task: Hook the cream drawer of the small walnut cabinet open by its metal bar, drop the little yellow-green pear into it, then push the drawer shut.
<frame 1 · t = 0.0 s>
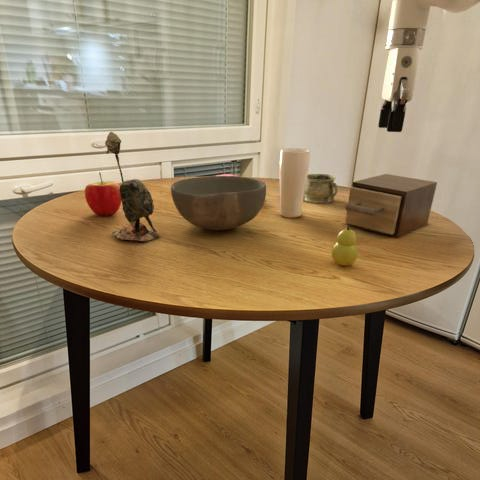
hand: (389, 129, 98), 19 cm above the table, tool pointing down, fingers open, 9 cm apart
drinking glass: (290, 216, 104), on the table
apple: (106, 215, 102), on the table
vessel: (317, 200, 118), on the table
cabinet: (387, 224, 98), on the table
stone bird figurine: (138, 238, 87), on the table
pear: (343, 264, 76), on the table
bowl: (219, 228, 94), on the table
book: (226, 200, 117), on the table
drawer: (380, 207, 93), point 5 cm above the table, slide at 0.5 cm
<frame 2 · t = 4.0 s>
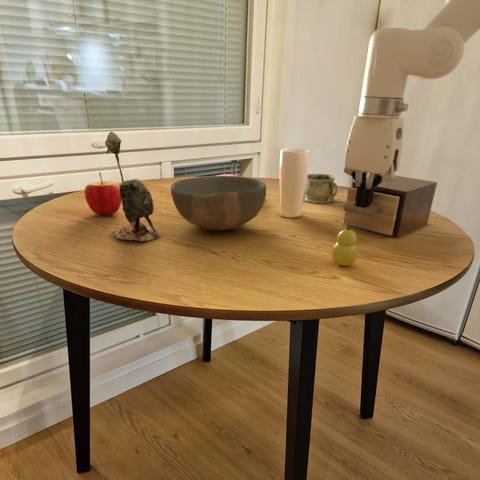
hand: (362, 206, 88), 6 cm above the table, tool pointing down, fingers closed
drawer: (378, 207, 93), point 5 cm above the table, slide at 1.3 cm, touching gripper
everything else where it was.
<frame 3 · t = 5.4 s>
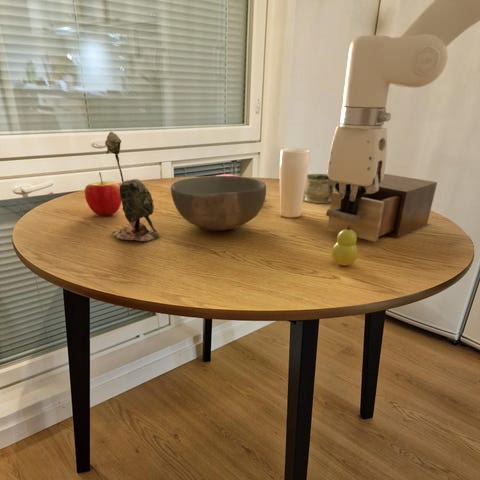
hand: (347, 218, 85), 5 cm above the table, tool pointing down, fingers closed
drawer: (364, 213, 89), point 5 cm above the table, slide at 7.4 cm, touching gripper
everything else where it was.
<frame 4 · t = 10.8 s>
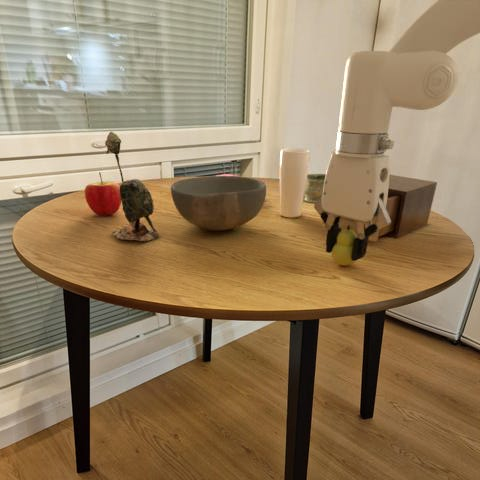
hand: (344, 253, 75), 2 cm above the table, tool pointing down, fingers closed on pear, 4 cm apart
pear: (343, 264, 76), on the table, touching gripper
drawer: (363, 213, 89), point 5 cm above the table, slide at 7.5 cm
everything else where it was.
when the fingers open (8 cm above the table, at t = 17.3 s): pear drops 4 cm, resting on drawer.
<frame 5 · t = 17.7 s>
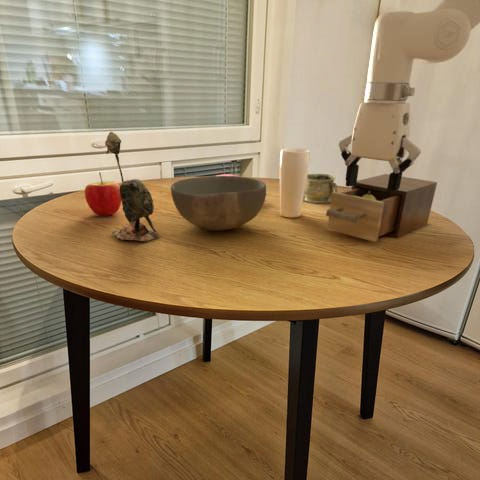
hand: (370, 189, 87), 10 cm above the table, tool pointing down, fingers open, 9 cm apart
pear: (364, 225, 91), point 2 cm above the table, touching drawer
drawer: (363, 213, 89), point 5 cm above the table, slide at 7.5 cm, touching pear
everything else where it was.
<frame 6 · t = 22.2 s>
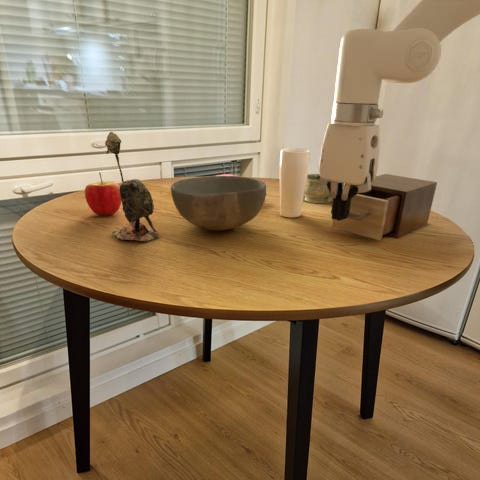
hand: (339, 218, 83), 5 cm above the table, tool pointing down, fingers closed
pear: (368, 222, 92), point 2 cm above the table, tilted 28°, touching drawer
drawer: (368, 211, 90), point 5 cm above the table, slide at 5.8 cm, touching pear
everything else where it was.
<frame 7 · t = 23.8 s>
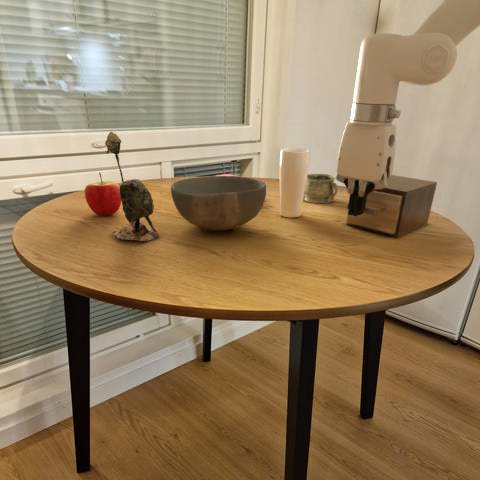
hand: (355, 214, 87), 5 cm above the table, tool pointing down, fingers closed
pear: (381, 217, 95), point 2 cm above the table, tilted 28°, touching drawer
drawer: (381, 206, 93), point 5 cm above the table, slide at 0.0 cm, touching cabinet, gripper, pear
everything else where it was.
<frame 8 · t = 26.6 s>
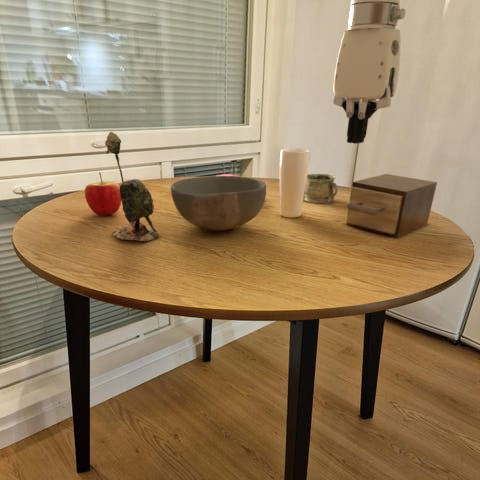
hand: (355, 142, 77), 19 cm above the table, tool pointing down, fingers closed
drawer: (381, 206, 93), point 5 cm above the table, slide at 0.0 cm, touching cabinet, pear
everything else where it was.
at the end: drawer pulled out 7.5 cm at the most during the clip, back to where it started at the end; pear inside the target area in the cabinet (3.3 cm from its centre), point 2.3 cm above the cabinet's base; drawer slide at 0.0 cm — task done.
